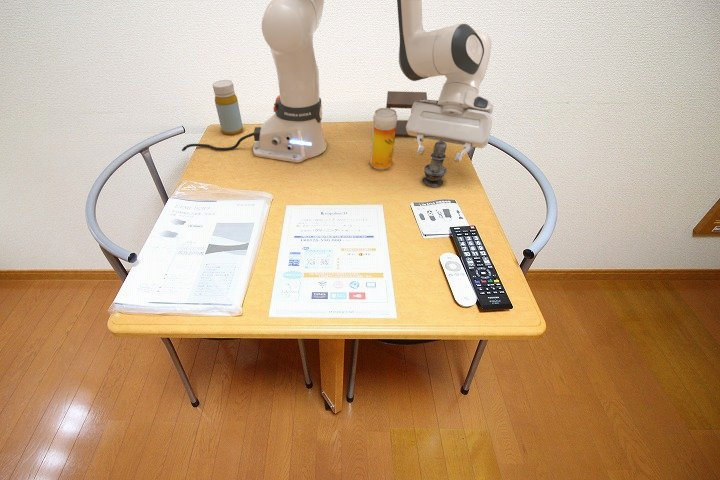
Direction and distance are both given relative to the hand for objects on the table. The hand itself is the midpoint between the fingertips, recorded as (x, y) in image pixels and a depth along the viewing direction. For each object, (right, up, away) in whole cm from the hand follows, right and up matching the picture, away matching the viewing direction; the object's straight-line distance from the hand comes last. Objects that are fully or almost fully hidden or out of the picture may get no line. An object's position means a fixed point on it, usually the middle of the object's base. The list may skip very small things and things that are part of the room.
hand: (438, 157), depth 91 cm
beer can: (-12, +1, +12) cm, 17 cm away
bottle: (-59, +18, +31) cm, 69 cm away
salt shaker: (0, -5, +5) cm, 7 cm away
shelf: (-3, +17, +27) cm, 32 cm away
